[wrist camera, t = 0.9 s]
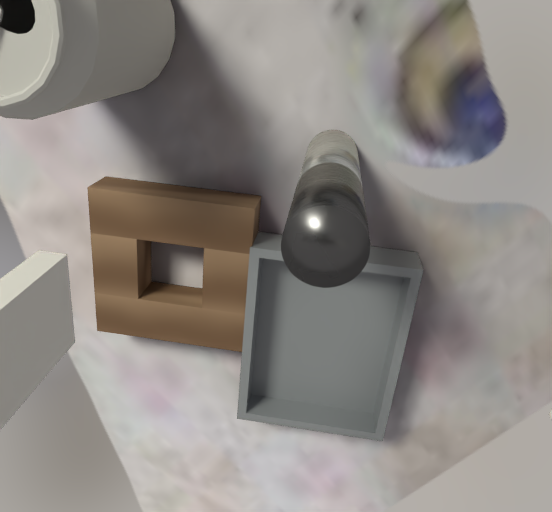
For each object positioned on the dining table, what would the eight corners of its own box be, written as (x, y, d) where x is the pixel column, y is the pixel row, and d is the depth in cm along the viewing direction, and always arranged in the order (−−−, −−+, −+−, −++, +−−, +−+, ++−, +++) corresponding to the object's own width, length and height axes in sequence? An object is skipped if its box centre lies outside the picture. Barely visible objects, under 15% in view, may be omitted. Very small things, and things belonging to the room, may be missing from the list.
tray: (256, 231, 32) (250, 247, 30) (417, 252, 31) (423, 270, 29) (243, 394, 38) (236, 418, 35) (379, 415, 37) (382, 441, 35)
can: (207, 26, 28) (121, 23, 17) (122, 119, 30) (-1, 167, 19) (106, -92, 26) (-65, -181, 15) (25, 17, 28) (-171, 8, 18)
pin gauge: (309, 127, 29) (285, 200, 16) (361, 133, 29) (377, 211, 16) (303, 177, 30) (276, 281, 18) (353, 183, 30) (362, 293, 17)
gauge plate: (105, 176, 32) (87, 187, 30) (261, 195, 31) (254, 208, 29) (112, 311, 36) (97, 330, 34) (249, 331, 35) (243, 352, 33)
